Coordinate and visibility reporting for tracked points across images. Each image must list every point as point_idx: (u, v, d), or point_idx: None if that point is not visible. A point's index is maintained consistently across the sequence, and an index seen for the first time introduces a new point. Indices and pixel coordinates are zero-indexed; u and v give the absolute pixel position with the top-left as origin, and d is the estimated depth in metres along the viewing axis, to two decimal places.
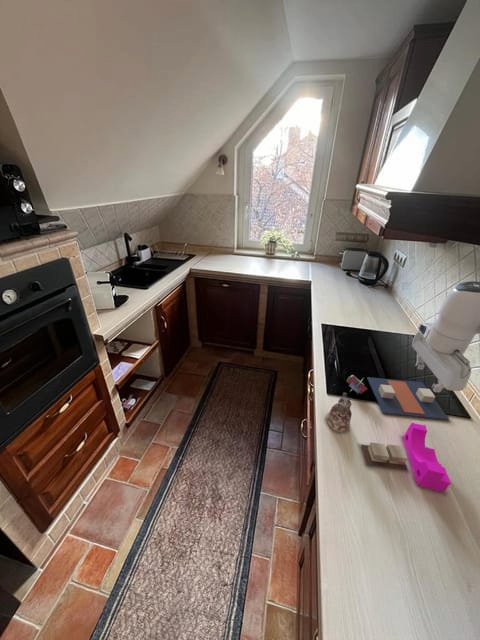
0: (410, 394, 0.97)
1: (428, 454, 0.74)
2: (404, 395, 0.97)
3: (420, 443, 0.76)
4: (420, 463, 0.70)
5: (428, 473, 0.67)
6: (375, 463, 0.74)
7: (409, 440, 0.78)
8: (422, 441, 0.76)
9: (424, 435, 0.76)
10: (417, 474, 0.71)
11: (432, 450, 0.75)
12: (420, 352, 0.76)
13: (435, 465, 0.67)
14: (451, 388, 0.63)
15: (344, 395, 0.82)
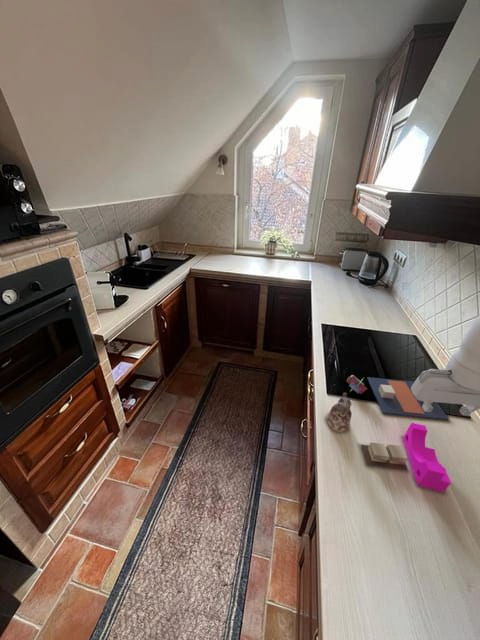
0: (410, 394, 0.97)
1: (428, 454, 0.74)
2: (404, 395, 0.97)
3: (421, 443, 0.76)
4: (420, 463, 0.70)
5: (428, 474, 0.67)
6: (375, 463, 0.74)
7: (409, 440, 0.78)
8: (422, 441, 0.76)
9: (424, 435, 0.76)
10: (417, 474, 0.71)
11: (432, 450, 0.75)
12: None
13: (435, 465, 0.67)
14: (411, 388, 0.66)
15: (344, 395, 0.82)
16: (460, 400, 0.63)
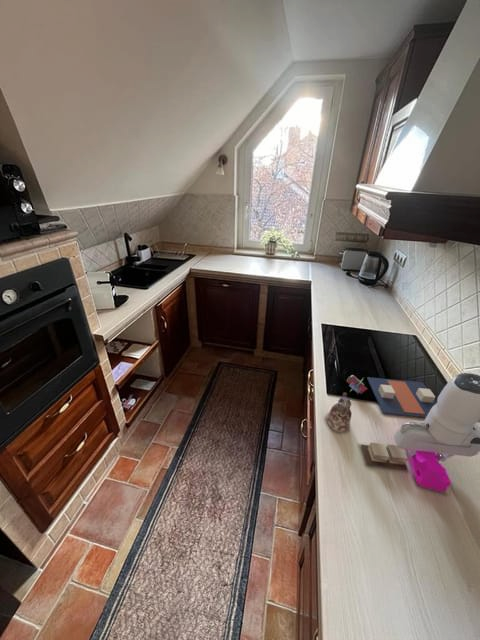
0: (410, 394, 0.97)
1: (428, 454, 0.74)
2: (404, 395, 0.97)
3: None
4: (420, 463, 0.70)
5: (428, 474, 0.67)
6: (375, 463, 0.74)
7: None
8: None
9: None
10: (417, 475, 0.71)
11: None
12: None
13: (435, 465, 0.67)
14: (394, 436, 0.73)
15: (344, 395, 0.82)
16: (437, 449, 0.69)
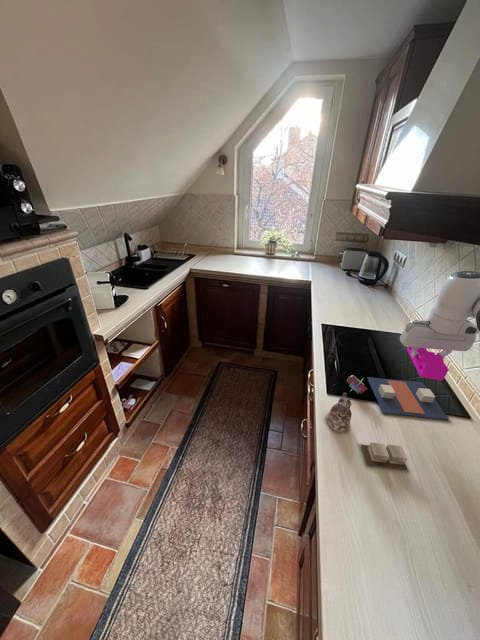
0: (410, 394, 0.97)
1: None
2: (404, 395, 0.97)
3: (422, 348, 0.88)
4: (422, 358, 0.81)
5: (429, 362, 0.78)
6: (375, 463, 0.74)
7: None
8: None
9: None
10: (420, 369, 0.82)
11: (432, 353, 0.86)
12: None
13: (435, 356, 0.78)
14: None
15: (344, 395, 0.82)
16: (437, 345, 0.81)
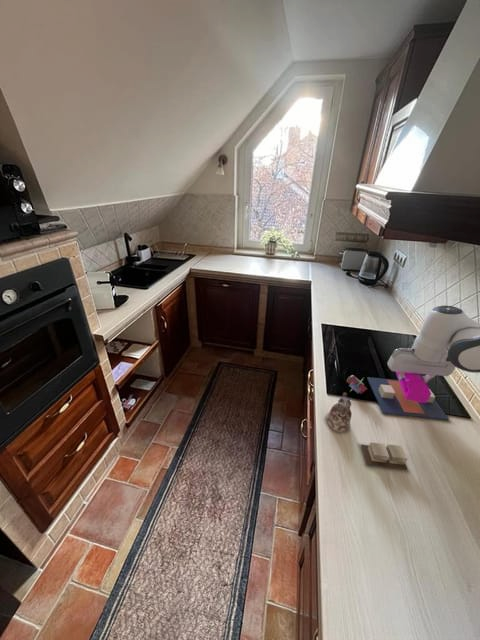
0: None
1: (415, 379, 0.93)
2: None
3: None
4: (408, 382, 0.89)
5: (413, 387, 0.85)
6: (375, 463, 0.74)
7: None
8: None
9: None
10: (406, 392, 0.89)
11: (418, 376, 0.94)
12: None
13: (419, 380, 0.85)
14: (387, 363, 0.91)
15: (344, 395, 0.82)
16: (421, 370, 0.88)
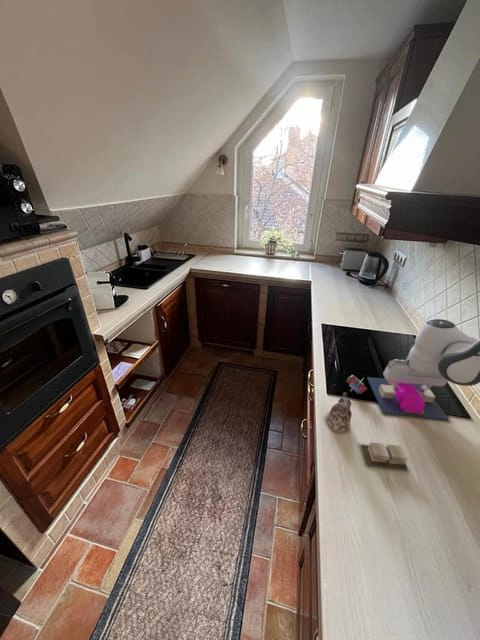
0: None
1: (410, 389, 0.95)
2: None
3: None
4: (402, 393, 0.91)
5: (408, 398, 0.88)
6: (375, 463, 0.74)
7: None
8: None
9: None
10: (401, 402, 0.92)
11: (413, 386, 0.96)
12: None
13: (413, 392, 0.88)
14: (383, 373, 0.94)
15: (344, 395, 0.82)
16: (416, 381, 0.90)
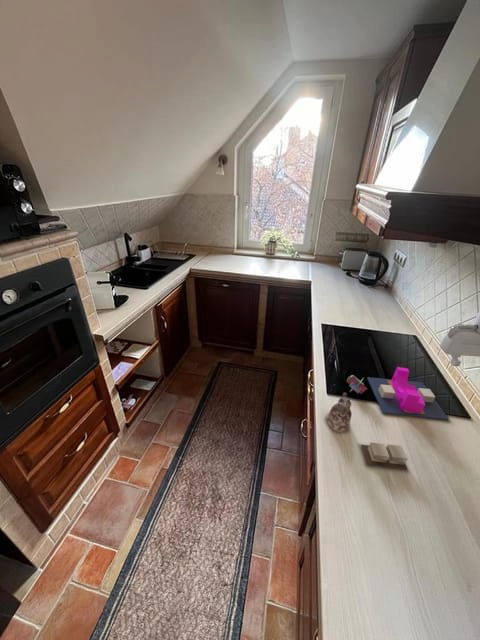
0: None
1: (410, 389, 0.95)
2: None
3: (404, 382, 0.97)
4: (402, 393, 0.91)
5: (408, 398, 0.88)
6: (375, 463, 0.74)
7: (395, 380, 0.99)
8: (405, 380, 0.97)
9: (407, 375, 0.98)
10: (401, 402, 0.92)
11: (413, 386, 0.96)
12: None
13: (413, 392, 0.88)
14: (440, 345, 0.74)
15: (344, 395, 0.82)
16: None
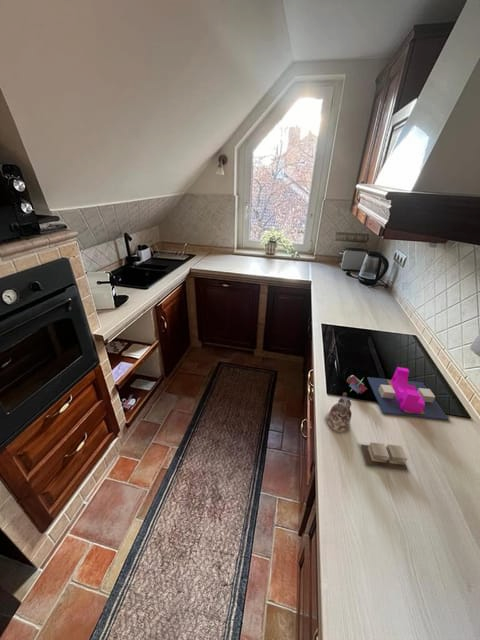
0: None
1: (410, 389, 0.95)
2: None
3: (404, 382, 0.97)
4: (402, 393, 0.91)
5: (408, 398, 0.88)
6: (375, 463, 0.74)
7: (395, 380, 0.99)
8: (405, 380, 0.97)
9: (407, 375, 0.98)
10: (401, 402, 0.92)
11: (413, 386, 0.96)
12: None
13: (413, 392, 0.88)
14: (471, 346, 0.67)
15: (344, 395, 0.82)
16: None
